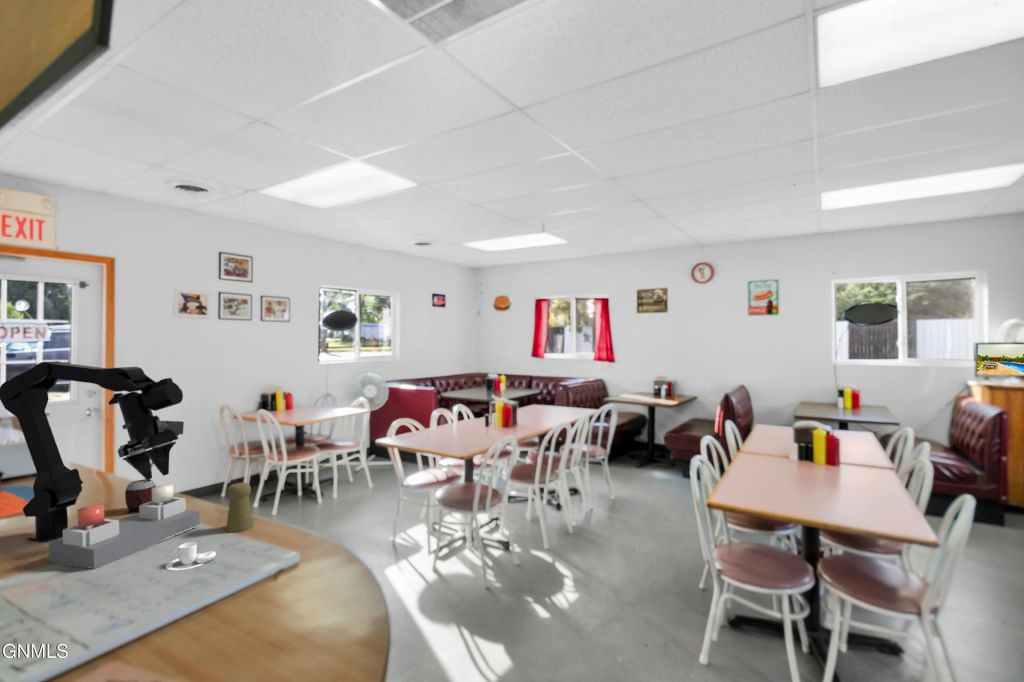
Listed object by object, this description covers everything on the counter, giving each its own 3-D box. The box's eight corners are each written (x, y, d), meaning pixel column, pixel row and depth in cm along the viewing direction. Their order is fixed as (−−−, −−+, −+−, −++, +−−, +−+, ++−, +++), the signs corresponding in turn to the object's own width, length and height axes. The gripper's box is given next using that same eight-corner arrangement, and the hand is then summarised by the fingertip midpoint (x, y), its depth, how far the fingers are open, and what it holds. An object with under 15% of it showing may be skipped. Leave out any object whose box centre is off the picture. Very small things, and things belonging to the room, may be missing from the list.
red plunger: (73, 525, 107) (72, 510, 107) (95, 518, 111) (95, 504, 111) (86, 527, 106) (86, 512, 106) (109, 520, 110) (108, 505, 110)
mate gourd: (124, 510, 140) (123, 457, 140) (158, 503, 145) (157, 452, 145) (127, 516, 134) (125, 461, 134) (162, 509, 140) (161, 456, 140)
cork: (241, 533, 120) (240, 487, 120) (220, 531, 122) (219, 486, 122) (259, 523, 126) (258, 480, 126) (238, 522, 127) (237, 480, 127)
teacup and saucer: (222, 558, 107) (222, 539, 107) (187, 575, 99) (187, 555, 99) (192, 554, 110) (192, 535, 110) (156, 570, 102) (156, 550, 102)
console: (49, 561, 107) (48, 528, 107) (158, 521, 130) (158, 494, 130) (94, 569, 103) (93, 535, 103) (199, 526, 125) (198, 498, 125)
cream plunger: (147, 501, 122) (147, 488, 122) (165, 496, 127) (164, 483, 127) (160, 503, 121) (160, 490, 121) (177, 497, 125) (177, 485, 125)
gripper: (190, 400, 124) (209, 460, 124) (158, 413, 134) (175, 469, 134) (140, 413, 114) (160, 477, 114) (108, 426, 124) (127, 486, 124)
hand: (157, 476), depth 122 cm, fingers open, 9 cm apart
